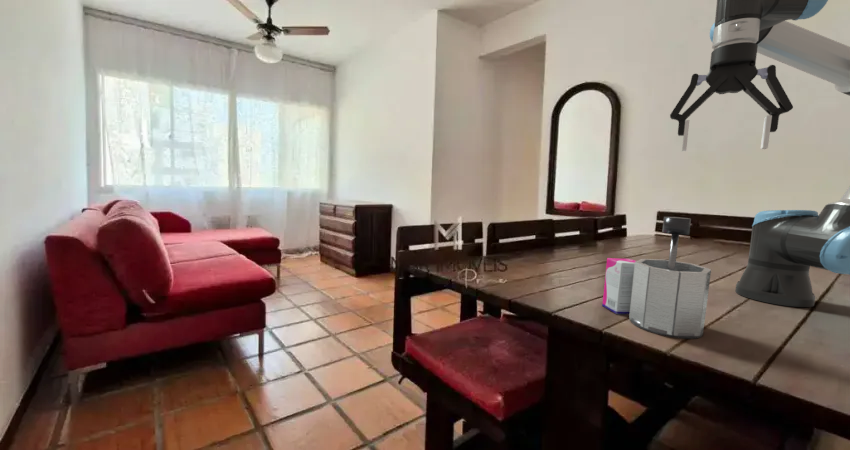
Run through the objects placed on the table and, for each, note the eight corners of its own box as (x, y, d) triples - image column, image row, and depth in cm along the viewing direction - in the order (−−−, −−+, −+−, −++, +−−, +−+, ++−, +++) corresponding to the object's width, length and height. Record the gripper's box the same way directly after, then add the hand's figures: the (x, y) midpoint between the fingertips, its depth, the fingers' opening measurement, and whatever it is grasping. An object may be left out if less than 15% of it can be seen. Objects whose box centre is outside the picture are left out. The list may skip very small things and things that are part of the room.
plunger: (671, 312, 78) (682, 216, 76) (698, 326, 71) (711, 220, 68) (636, 311, 78) (646, 215, 76) (658, 325, 71) (670, 219, 68)
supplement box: (641, 314, 81) (646, 263, 80) (616, 314, 80) (620, 263, 79) (625, 305, 87) (629, 257, 85) (601, 305, 86) (605, 257, 85)
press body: (666, 311, 84) (672, 257, 82) (719, 339, 69) (728, 274, 67) (611, 309, 84) (617, 255, 82) (653, 337, 69) (660, 272, 67)
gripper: (663, 51, 81) (654, 149, 84) (824, 28, 68) (807, 146, 70) (664, 61, 88) (655, 152, 90) (812, 41, 74) (797, 149, 76)
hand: (722, 149), depth 80 cm, fingers open, 13 cm apart
